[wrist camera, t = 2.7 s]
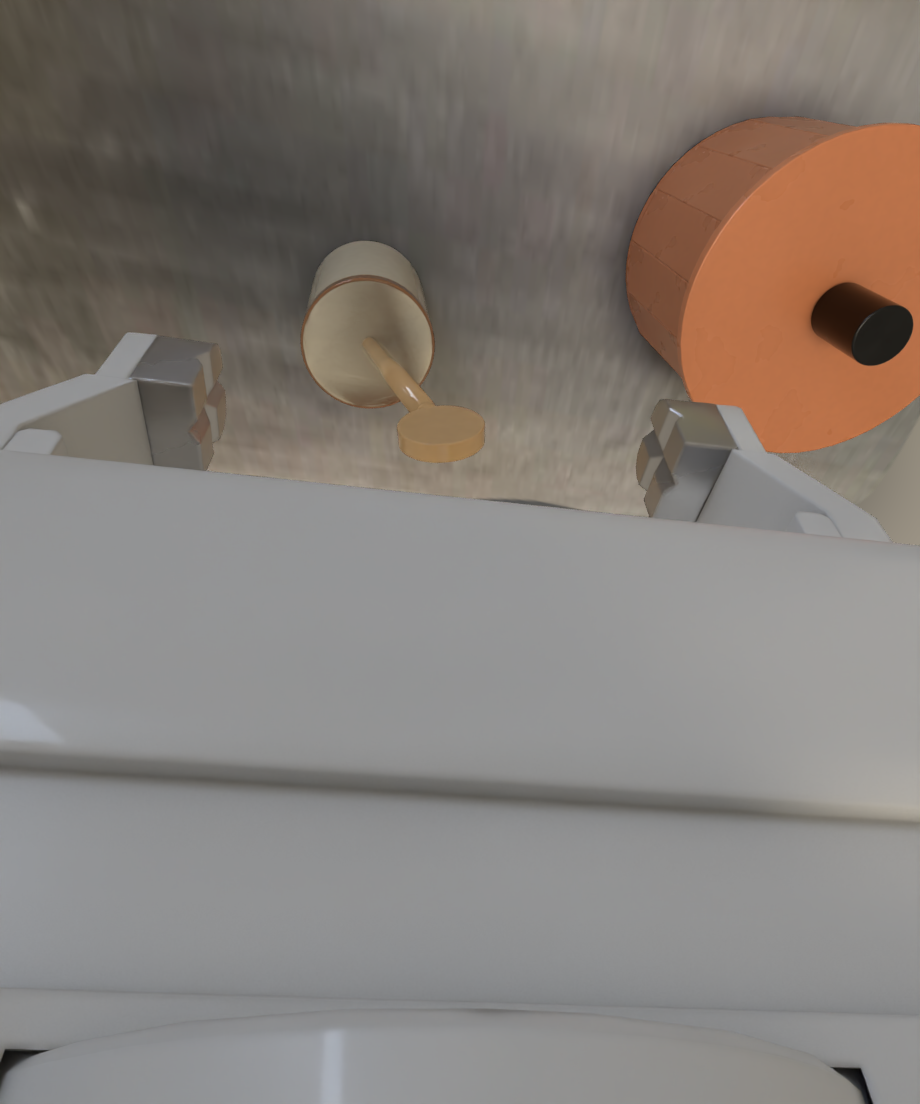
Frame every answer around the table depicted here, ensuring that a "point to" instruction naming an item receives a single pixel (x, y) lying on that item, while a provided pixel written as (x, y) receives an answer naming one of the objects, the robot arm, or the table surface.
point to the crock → (382, 348)
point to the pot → (701, 214)
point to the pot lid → (813, 293)
